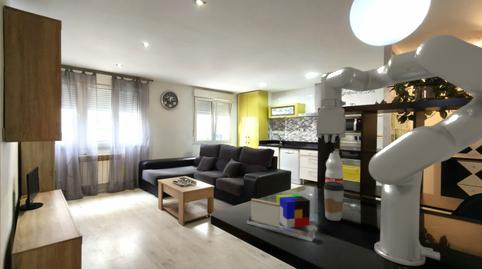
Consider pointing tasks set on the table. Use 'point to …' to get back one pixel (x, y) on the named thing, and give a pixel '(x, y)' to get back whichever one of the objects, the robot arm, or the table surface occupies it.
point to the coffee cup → (333, 200)
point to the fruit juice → (334, 168)
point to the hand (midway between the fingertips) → (330, 152)
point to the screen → (265, 212)
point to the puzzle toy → (294, 210)
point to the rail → (284, 230)
